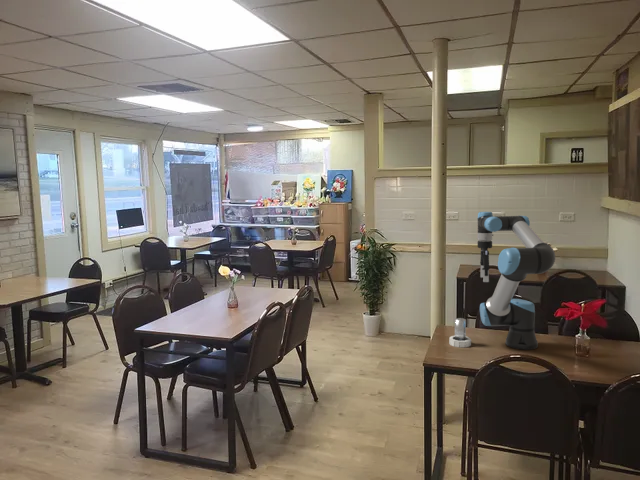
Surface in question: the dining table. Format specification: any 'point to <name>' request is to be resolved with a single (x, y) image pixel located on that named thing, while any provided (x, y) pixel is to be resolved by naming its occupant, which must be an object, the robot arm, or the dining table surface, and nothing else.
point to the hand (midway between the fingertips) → (484, 279)
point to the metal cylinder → (460, 329)
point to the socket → (460, 342)
